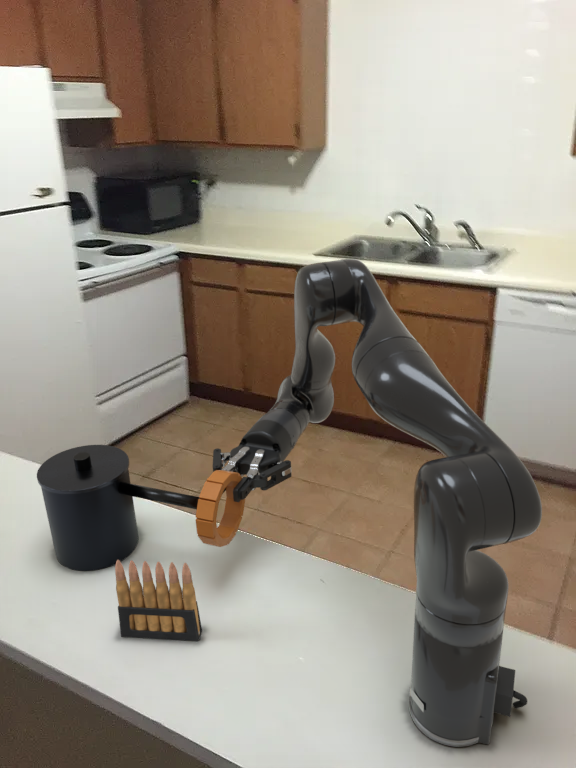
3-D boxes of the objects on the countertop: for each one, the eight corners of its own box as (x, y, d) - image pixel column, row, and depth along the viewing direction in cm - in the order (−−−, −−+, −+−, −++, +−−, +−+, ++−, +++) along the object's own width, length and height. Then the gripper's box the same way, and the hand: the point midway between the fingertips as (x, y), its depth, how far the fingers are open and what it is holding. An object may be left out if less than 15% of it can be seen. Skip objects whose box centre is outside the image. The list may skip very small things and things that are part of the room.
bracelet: (247, 519, 101) (242, 459, 97) (216, 561, 92) (209, 498, 88) (231, 516, 102) (226, 457, 98) (199, 557, 93) (192, 494, 89)
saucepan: (235, 545, 106) (228, 456, 100) (194, 602, 95) (183, 505, 88) (88, 513, 116) (73, 429, 109) (35, 561, 104) (14, 471, 98)
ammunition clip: (202, 630, 90) (194, 558, 85) (199, 641, 88) (190, 567, 83) (125, 626, 91) (113, 555, 86) (120, 636, 89) (108, 564, 84)
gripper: (231, 413, 111) (180, 464, 97) (310, 424, 106) (269, 480, 92) (234, 452, 114) (185, 507, 100) (311, 465, 110) (271, 525, 95)
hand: (225, 494), depth 96 cm, fingers closed on bracelet, 2 cm apart
